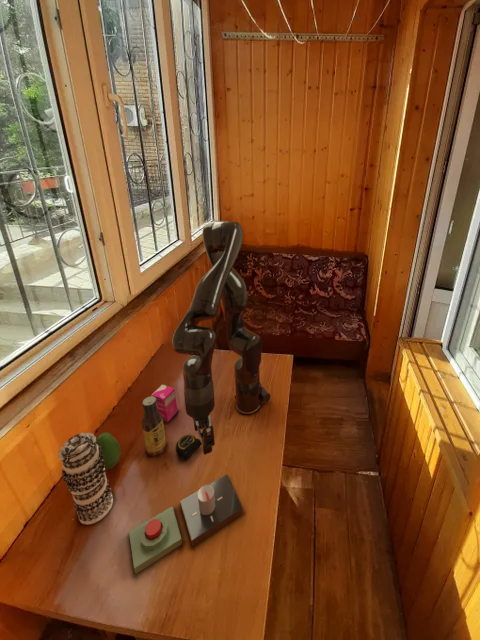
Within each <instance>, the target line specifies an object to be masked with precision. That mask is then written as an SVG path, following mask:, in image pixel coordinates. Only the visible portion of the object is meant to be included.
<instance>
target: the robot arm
mask: <svg viewBox="0 0 480 640" xmlns="http://www.w3.org/2000/svg"><path fill="white" fill-rule="evenodd" d="M202 241H203V245H204V248H205V251H206V255H207V257H208V260H209V263H210V265H211V268H210V269H209V270H208V271H207V272H206V273H205V274H204V275H203V276H202V278H201V279H199V281H198V283H197V285H196V287H195V290H194V293H193V297H192V299H191V303H190V306H189V308H188V310H187V311H186V313H185V315H184V316H183V318H182V319H181V320H180V323H179V324H178V325H177V327H176V329H175V331H174V332H173V334H172V335H173V336H172V339H171V346H172V349H173V350H174V352H175V353H177V354H179V355H187V356H190V357H188V358H186V359H185V361H184V362H183V365H182V375H183V396H184V407H185V412H186V414H187V416H188V417H190V418H192V420H193V428H194V431H195V432H197V434H198V436H199V437H200V438H201V443H202V452H203V455H208V454H209V453H212V451H213V447H214V446H216V445H215V433H214V432H215V431H214V426H213V425H212V423H211V420H212V419H211V413H212V412H213V411H214V408H215V405H216V403H215V387H214V386H215V385H214V381H213V371H212V363H213V357H214V353H215V349H216V347H217V343H218V342H217V341H218V336H217V333H216V331H215V330H214V328H211V327H208V326H199V324H200V323H202V322H205V321H211V320H214V319H215V318H216V316H217V315H218V310H219V307H220V306H221V308H222V309H221V310H222V313H223V318H224V321H225V322H224V323H225V327H226V328H225V329H226V337H227V338H226V339H227V344H228V347H229V350H231V351H232V352H233V353H235V354H236V355H238V356H240V357H239V358H238V359H237V360H235V362H234V364H233V365H234V366H233V367H234V369H233V371H234V386H235V387H234V388H235V396H234V400H235V406H236V410H237V411H238V413H240V414H242V415H252V414H255V413H257V412H258V411H259V409H260V407H262V406H263V403H264V402H266V403H269V401H270V400H271V396H272V395H271V394H270V393H269V392H268V391H267V390H266V388H265V387H264V386H262V384H261V380H260V379H261V378H260V377H261V375H260V366H261V362H262V352H263V348H262V347H263V343H262V338H261V336H260V335H259V334H258V333H255V332H254V331H252V330H249V329H248V328H247V327H246V325H245V322H244V314H245V312H246V310H247V308H248V305H249V293H248V289H247V284H246V282H245V280H244V278H243V277H242V276H241V274H240V273H239V272H238V271H237V270H236V269H235V268H234V265H235V263H236V261H237V259H238V257H239V254H240V252H241V249H242V245H243V242H244V230H243V227H242V225H241V224H240V223H239V222H238V221H234V220H214V221H213V220H212V221H207V222H206V223H205V224H204V225H203V228H202Z"/></svg>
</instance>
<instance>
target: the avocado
mask: <svg viewBox="0 0 480 640" xmlns="http://www.w3.org/2000/svg"><path fill="white" fill-rule="evenodd" d="M96 444H98V445H99V446H101V447H102V449H101V450H102V452H103V454H102V455H103V457H104V458H103V460H104V462H105V463H104V465H105V470H106V471H108V470H111V469H113V468H114V467H116V465H117V464H118V463H119V460H120V457H121V452H122V449H121V445H120V443H119V441H118V440H117V439H116V438H115V437H114V436H113V435H112V434H111V433H110V432H107V431H104V432H102V433H100V434H99V435H98V436H97V437H96ZM99 454H100V453H99Z"/></svg>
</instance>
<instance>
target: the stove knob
mask: <svg viewBox="0 0 480 640" xmlns="http://www.w3.org/2000/svg"><path fill="white" fill-rule="evenodd" d="M198 490H199V491H198ZM198 490H197V491H198V494H197V496H198V504H199V511H200V513H201V514H203V515H209V514H211V513H212V512H213V511H214V509H215V506H216V502H215V493H214V488H213V486H211V485H209V484H204V485H202V486H201V487H199V489H198Z"/></svg>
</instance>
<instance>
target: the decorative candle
mask: <svg viewBox="0 0 480 640" xmlns="http://www.w3.org/2000/svg"><path fill="white" fill-rule="evenodd" d="M96 439H97V437H96V435H95V434H93V433H92V432H80V433H76V434H73V435H72V436H71V437H69V438H68V439H67V440H66V441H65V442H64V443H63V444H62V445H61V446H60V448H59V451H58V452H57V453H58V455H57V457H58V459H59V460H60V461H61V466H62V469H61V475H62V478H63V481H64V482H65V486H66V487H67V490H68V491H69V492H70V494H71V495H72V499H73V500H72V504H74V505H73V507H74V508H75V509H74V510H75V513H76V516H77V517H78V521H79V522H80V523H81V524H83V525H92V524H95V523H97V522H99V521H101V520H102V519H103V518H104V517H105V516H106V515H108V513H109V512H110V510H111V509H112V507H113V503H114V497H113V492H112V488H111V485H110V480H109V479H108V478H107V475H106V471H107V470H105V465H104V463H105V462H104V460H103V458H104V457H103V455H102V454H103V452H102V450H101V449H102V447H101V446H99V445H98V444H96ZM99 453H100V454H99Z"/></svg>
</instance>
